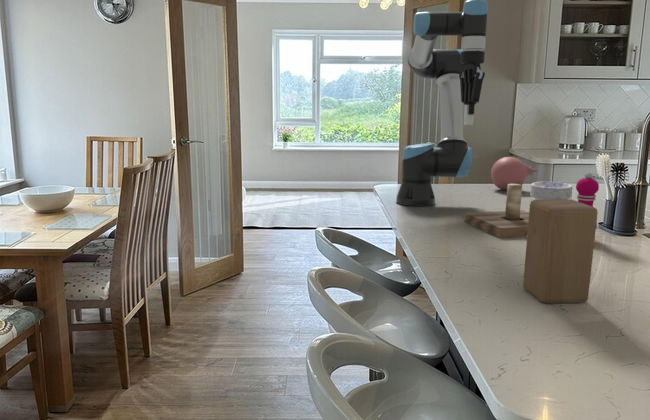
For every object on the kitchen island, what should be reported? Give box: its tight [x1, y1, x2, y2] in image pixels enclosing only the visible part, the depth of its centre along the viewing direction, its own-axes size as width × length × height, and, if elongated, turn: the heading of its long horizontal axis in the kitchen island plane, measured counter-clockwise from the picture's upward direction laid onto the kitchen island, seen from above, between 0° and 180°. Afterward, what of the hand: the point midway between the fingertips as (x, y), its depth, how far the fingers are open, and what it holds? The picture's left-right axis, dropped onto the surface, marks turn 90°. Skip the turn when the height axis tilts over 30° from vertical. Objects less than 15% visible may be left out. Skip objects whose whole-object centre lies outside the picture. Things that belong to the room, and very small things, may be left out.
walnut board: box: [464, 209, 529, 239], centre depth 174 cm, size 22×22×3 cm
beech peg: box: [505, 184, 523, 221], centre depth 173 cm, size 4×4×14 cm
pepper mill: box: [575, 172, 600, 229], centre depth 158 cm, size 7×7×20 cm
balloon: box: [490, 156, 538, 192], centre depth 243 cm, size 15×20×15 cm
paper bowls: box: [529, 181, 573, 200], centre depth 214 cm, size 15×15×8 cm
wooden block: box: [522, 198, 599, 304], centre depth 112 cm, size 10×10×20 cm
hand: (468, 124), depth 179 cm, fingers closed
